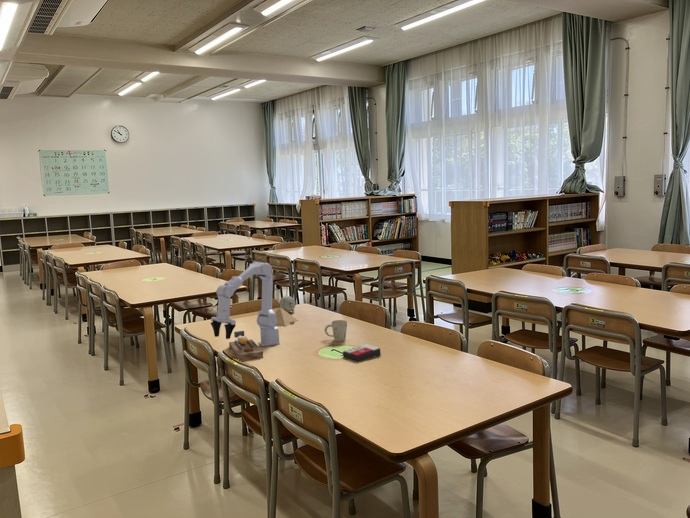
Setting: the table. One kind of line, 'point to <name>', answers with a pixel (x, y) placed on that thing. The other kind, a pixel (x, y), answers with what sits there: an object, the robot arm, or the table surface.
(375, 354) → the flat black red box
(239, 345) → the launcher base
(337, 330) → the mug
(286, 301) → the toy sheep
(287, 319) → the model pyramid
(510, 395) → the table surface
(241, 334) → the grey block
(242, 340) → the ball
